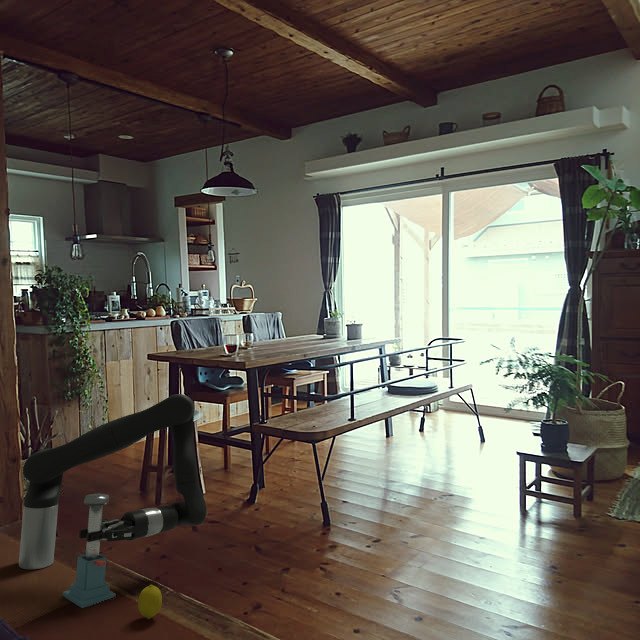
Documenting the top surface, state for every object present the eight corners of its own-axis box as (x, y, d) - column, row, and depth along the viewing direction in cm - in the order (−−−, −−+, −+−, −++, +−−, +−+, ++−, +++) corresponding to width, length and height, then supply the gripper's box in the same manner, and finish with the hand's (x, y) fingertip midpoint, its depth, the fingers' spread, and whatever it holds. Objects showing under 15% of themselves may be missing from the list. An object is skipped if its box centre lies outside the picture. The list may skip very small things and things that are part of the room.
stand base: (62, 595, 146) (66, 556, 146) (95, 586, 153) (98, 548, 153) (82, 608, 139) (85, 567, 140) (115, 597, 146) (118, 558, 147)
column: (72, 591, 146) (80, 495, 147) (94, 585, 150) (101, 492, 152) (84, 599, 142) (91, 500, 144) (106, 592, 146) (113, 496, 148)
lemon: (153, 625, 132) (156, 590, 133) (132, 622, 133) (134, 587, 134) (164, 615, 138) (167, 582, 138) (144, 612, 139) (146, 579, 139)
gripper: (129, 504, 163) (71, 515, 150) (157, 515, 154) (98, 527, 141) (127, 531, 162) (68, 544, 149) (155, 543, 153) (96, 558, 140)
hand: (83, 535), depth 145 cm, fingers closed on column, 3 cm apart
